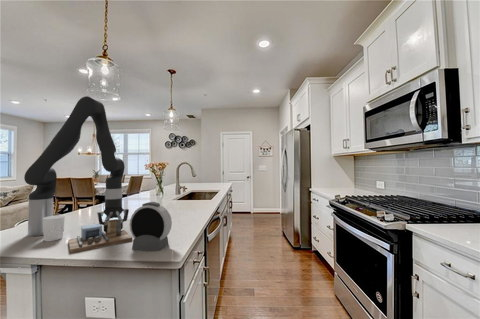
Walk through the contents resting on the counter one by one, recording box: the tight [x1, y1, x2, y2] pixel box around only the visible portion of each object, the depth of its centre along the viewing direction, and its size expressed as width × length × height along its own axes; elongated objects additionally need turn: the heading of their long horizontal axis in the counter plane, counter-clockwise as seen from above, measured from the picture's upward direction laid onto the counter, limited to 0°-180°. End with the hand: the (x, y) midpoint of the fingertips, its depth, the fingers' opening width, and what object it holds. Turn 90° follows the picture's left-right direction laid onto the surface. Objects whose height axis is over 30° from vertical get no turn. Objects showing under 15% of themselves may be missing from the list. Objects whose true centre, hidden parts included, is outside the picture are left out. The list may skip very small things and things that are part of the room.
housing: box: [80, 223, 103, 241], centre depth 99 cm, size 6×7×5 cm
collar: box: [107, 218, 118, 233], centre depth 112 cm, size 6×6×6 cm
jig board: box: [67, 220, 133, 254], centre depth 98 cm, size 15×22×8 cm
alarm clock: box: [129, 201, 173, 252], centre depth 92 cm, size 16×10×18 cm, turn 82°
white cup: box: [42, 214, 66, 242], centre depth 102 cm, size 8×8×10 cm
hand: (113, 231), depth 112 cm, fingers closed on collar, 5 cm apart
